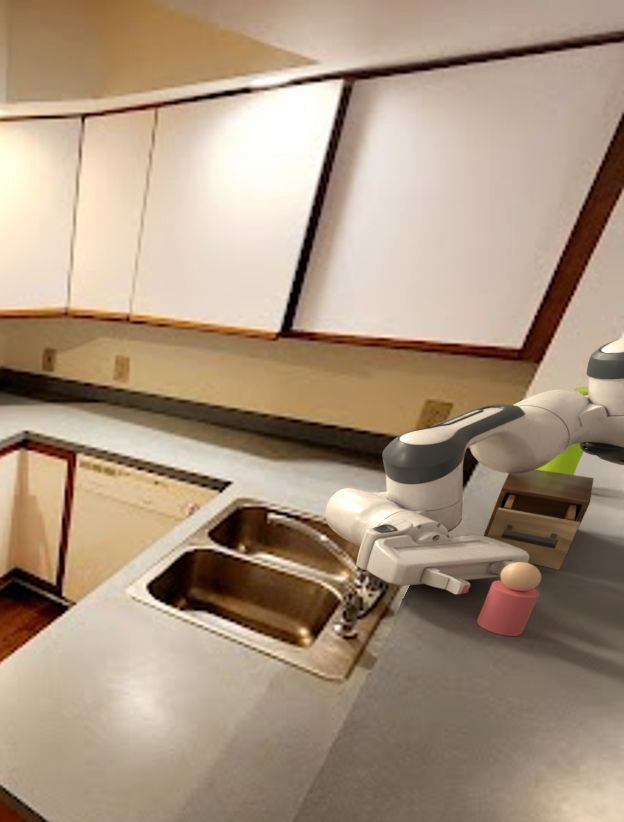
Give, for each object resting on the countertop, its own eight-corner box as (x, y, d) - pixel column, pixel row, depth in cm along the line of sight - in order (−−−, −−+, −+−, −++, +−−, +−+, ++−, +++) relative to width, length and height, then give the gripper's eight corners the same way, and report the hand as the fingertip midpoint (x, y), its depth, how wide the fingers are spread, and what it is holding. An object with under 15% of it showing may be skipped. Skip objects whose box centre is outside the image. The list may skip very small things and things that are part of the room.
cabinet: (566, 555, 101) (590, 502, 97) (482, 538, 108) (502, 487, 104) (571, 527, 110) (593, 477, 106) (493, 513, 117) (512, 466, 113)
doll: (517, 622, 85) (544, 559, 81) (526, 639, 82) (555, 575, 77) (473, 614, 87) (498, 553, 83) (480, 631, 84) (506, 567, 80)
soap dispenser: (556, 493, 124) (599, 393, 115) (520, 482, 130) (558, 386, 122) (581, 490, 125) (625, 390, 116) (544, 479, 131) (583, 383, 122)
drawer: (557, 580, 93) (578, 533, 90) (476, 561, 99) (493, 517, 96) (564, 541, 104) (583, 498, 100) (492, 527, 110) (507, 486, 107)
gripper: (467, 556, 99) (558, 599, 86) (346, 566, 98) (420, 612, 85) (481, 519, 96) (577, 559, 84) (356, 530, 95) (434, 572, 82)
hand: (496, 586), depth 84 cm, fingers open, 8 cm apart
